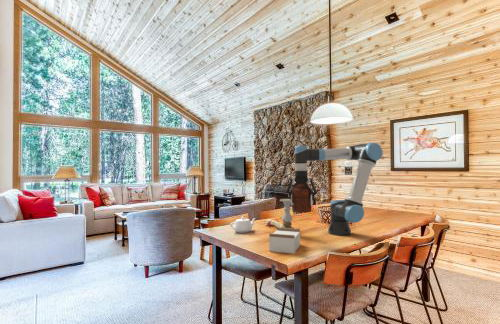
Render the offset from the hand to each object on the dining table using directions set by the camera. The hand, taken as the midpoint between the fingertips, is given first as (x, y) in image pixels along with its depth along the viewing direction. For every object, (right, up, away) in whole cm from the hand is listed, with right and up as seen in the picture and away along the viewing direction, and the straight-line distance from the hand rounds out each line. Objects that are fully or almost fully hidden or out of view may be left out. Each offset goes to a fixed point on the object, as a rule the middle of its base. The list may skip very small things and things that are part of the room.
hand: (301, 205), depth 175 cm
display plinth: (-12, -23, -13) cm, 29 cm away
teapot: (-37, -24, +29) cm, 53 cm away
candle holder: (-6, -23, +20) cm, 31 cm away
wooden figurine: (0, -4, 0) cm, 4 cm away
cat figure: (-13, -24, +41) cm, 49 cm away
